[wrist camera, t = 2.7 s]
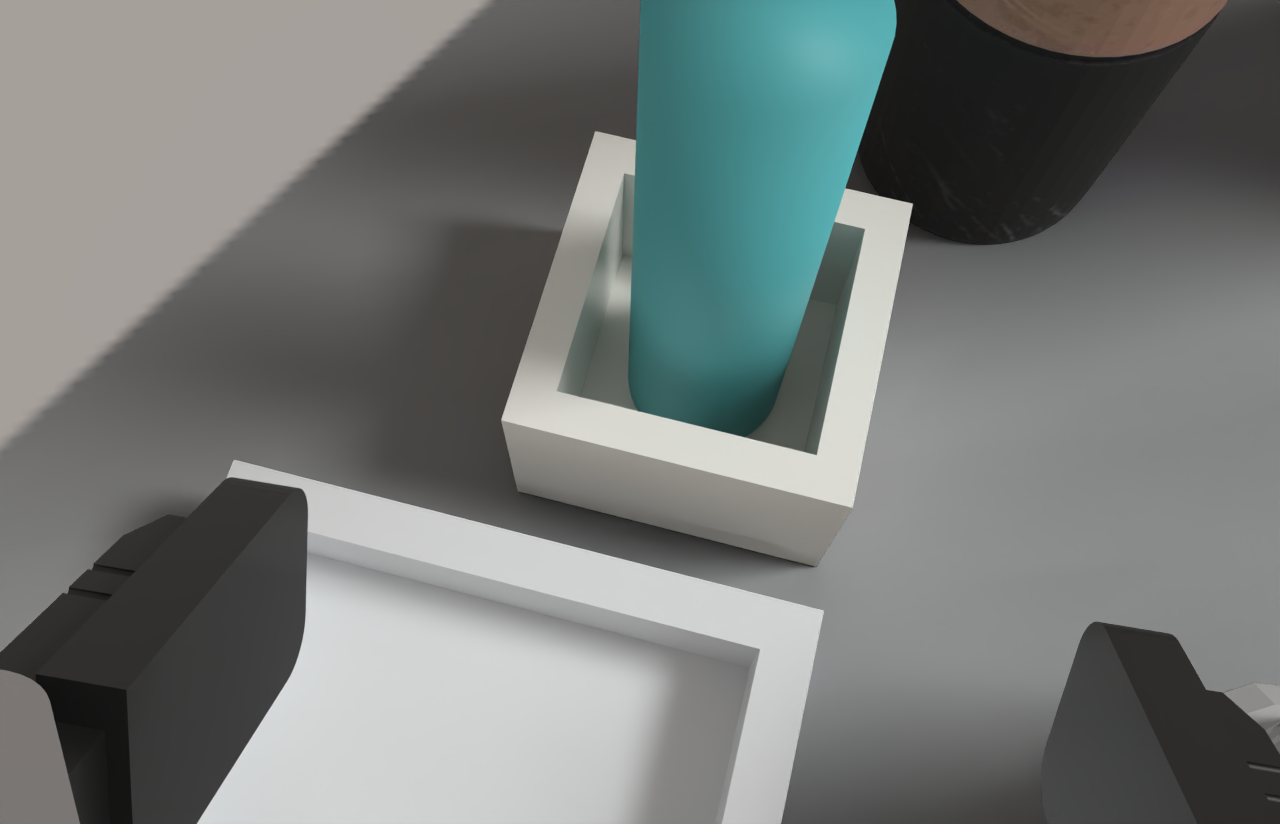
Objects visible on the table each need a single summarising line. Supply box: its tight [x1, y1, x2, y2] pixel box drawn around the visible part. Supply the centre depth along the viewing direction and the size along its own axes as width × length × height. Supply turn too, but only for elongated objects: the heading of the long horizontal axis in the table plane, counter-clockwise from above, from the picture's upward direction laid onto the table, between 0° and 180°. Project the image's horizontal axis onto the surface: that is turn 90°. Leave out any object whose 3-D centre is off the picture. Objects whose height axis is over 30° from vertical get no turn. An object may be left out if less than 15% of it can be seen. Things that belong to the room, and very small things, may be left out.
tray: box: [197, 460, 824, 824], centre depth 27 cm, size 12×14×4 cm
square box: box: [501, 131, 913, 567], centre depth 30 cm, size 8×8×5 cm
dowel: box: [628, 0, 897, 437], centre depth 25 cm, size 4×4×14 cm
